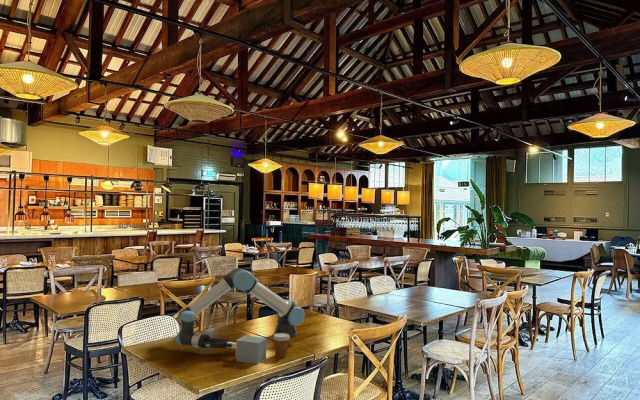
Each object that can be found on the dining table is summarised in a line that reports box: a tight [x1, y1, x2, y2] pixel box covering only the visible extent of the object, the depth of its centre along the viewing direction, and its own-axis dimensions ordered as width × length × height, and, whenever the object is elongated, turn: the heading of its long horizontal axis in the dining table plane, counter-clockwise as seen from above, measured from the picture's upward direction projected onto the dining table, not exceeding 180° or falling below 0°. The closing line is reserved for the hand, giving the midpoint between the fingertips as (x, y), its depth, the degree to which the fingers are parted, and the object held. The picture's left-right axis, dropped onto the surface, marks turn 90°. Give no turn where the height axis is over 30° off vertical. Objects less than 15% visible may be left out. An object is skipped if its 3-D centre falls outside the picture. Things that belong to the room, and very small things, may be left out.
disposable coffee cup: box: [272, 333, 291, 359], centre depth 253 cm, size 10×10×12 cm
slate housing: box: [235, 335, 268, 365], centre depth 246 cm, size 14×10×11 cm
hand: (237, 345), depth 247 cm, fingers closed
